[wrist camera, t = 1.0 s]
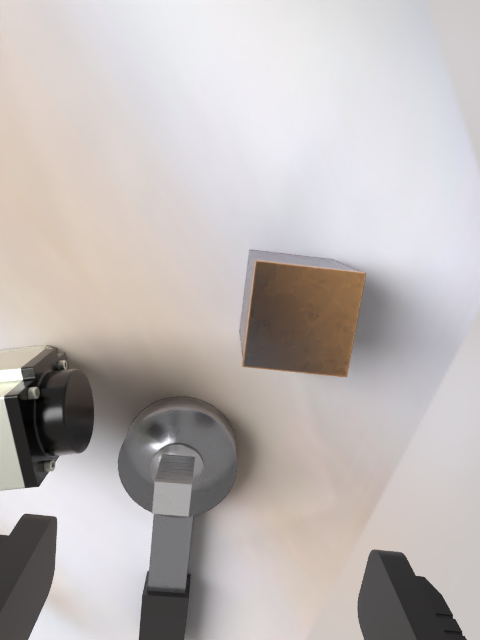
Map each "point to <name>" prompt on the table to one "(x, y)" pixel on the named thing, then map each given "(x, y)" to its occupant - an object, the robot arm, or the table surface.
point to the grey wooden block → (299, 313)
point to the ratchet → (175, 496)
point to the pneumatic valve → (40, 414)
